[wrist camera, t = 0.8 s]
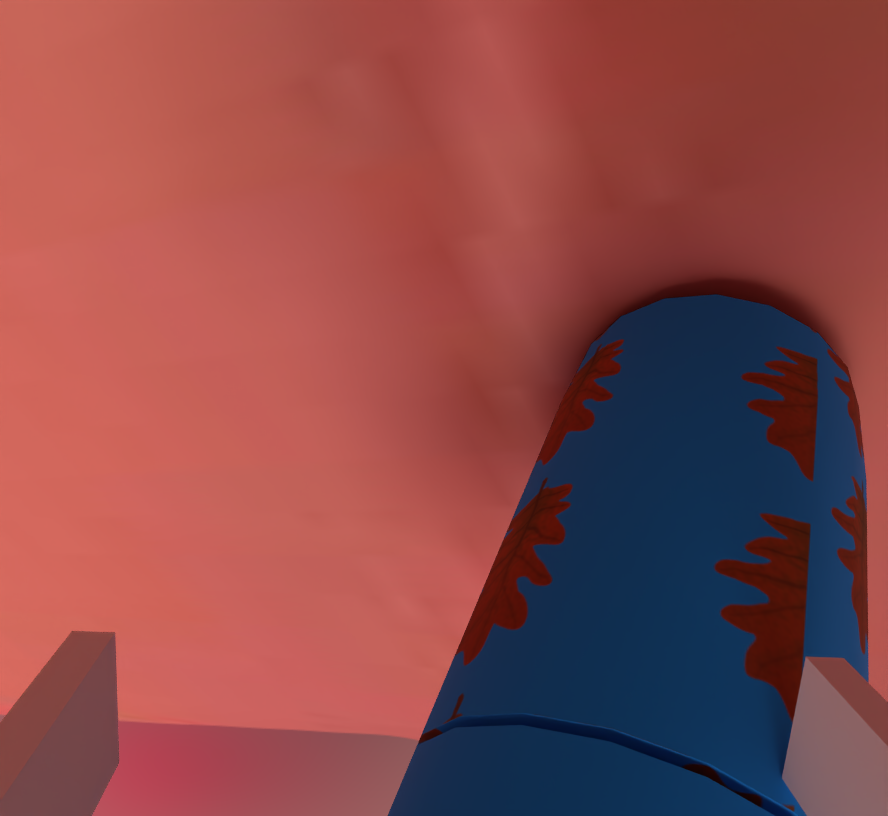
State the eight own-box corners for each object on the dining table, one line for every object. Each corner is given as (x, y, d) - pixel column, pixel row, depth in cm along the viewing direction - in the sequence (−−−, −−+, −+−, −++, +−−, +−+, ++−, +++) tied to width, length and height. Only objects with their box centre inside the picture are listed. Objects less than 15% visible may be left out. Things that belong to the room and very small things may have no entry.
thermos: (600, 501, 37) (367, 1230, 19) (545, 303, 31) (139, 1091, 13) (867, 513, 31) (880, 1522, 14) (862, 277, 26) (872, 1499, 8)
